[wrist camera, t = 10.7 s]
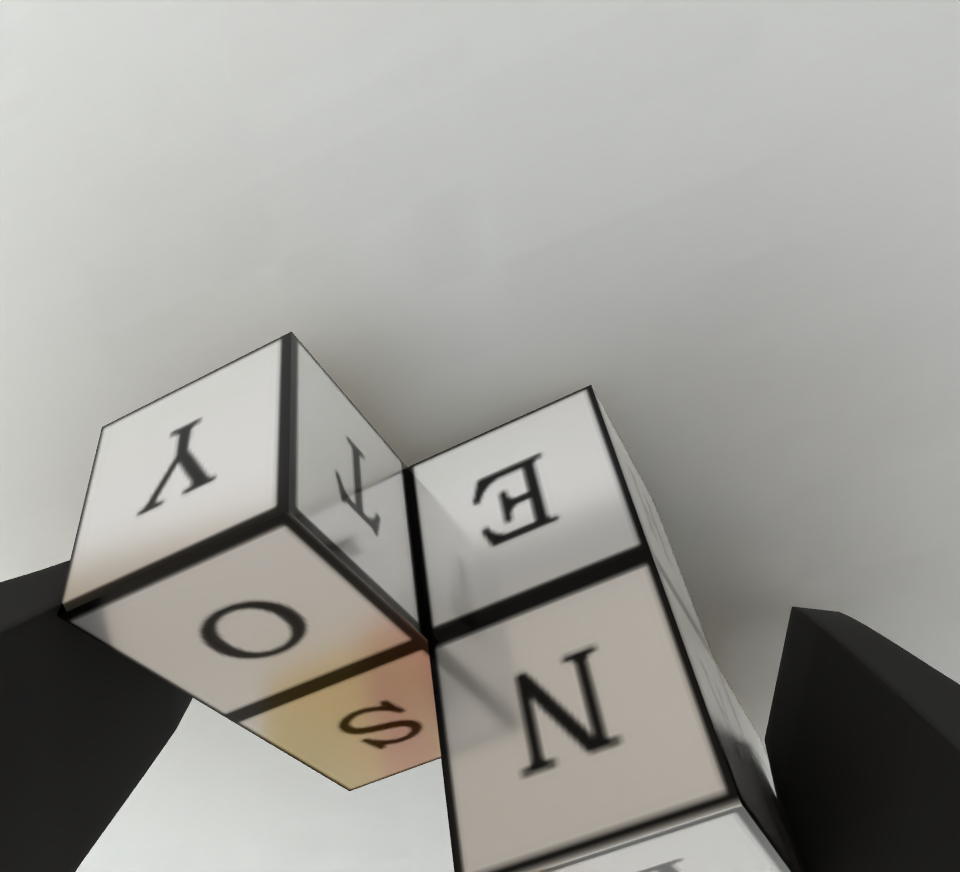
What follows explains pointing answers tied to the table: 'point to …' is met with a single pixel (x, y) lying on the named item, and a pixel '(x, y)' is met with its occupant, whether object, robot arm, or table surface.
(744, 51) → the table surface
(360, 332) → the table surface
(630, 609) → the building blocks
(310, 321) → the table surface
